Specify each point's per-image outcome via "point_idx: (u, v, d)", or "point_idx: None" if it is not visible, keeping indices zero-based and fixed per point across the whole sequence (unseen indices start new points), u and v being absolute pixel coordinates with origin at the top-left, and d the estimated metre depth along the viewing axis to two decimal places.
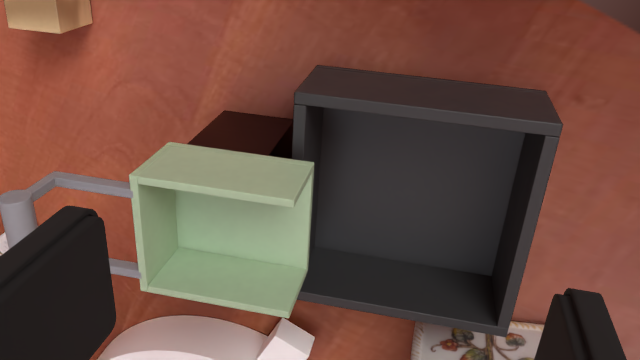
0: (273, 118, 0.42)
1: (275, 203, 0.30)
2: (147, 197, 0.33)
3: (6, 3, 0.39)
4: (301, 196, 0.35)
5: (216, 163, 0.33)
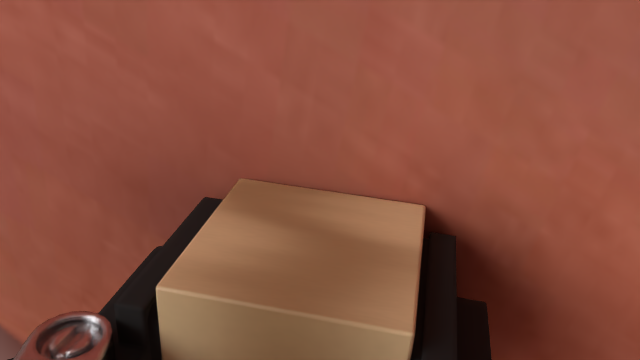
0: None
1: None
2: None
3: None
4: None
5: None
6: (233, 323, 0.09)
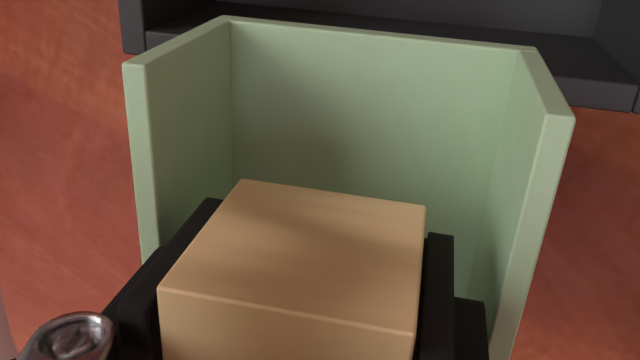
0: None
1: (142, 117, 0.11)
2: None
3: None
4: (294, 50, 0.14)
5: None
6: (234, 324, 0.09)
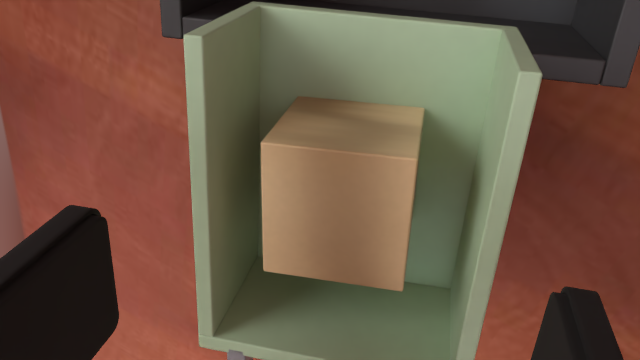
0: None
1: (198, 78, 0.13)
2: (265, 325, 0.18)
3: (342, 277, 0.16)
4: (314, 31, 0.17)
5: None
6: (308, 163, 0.14)
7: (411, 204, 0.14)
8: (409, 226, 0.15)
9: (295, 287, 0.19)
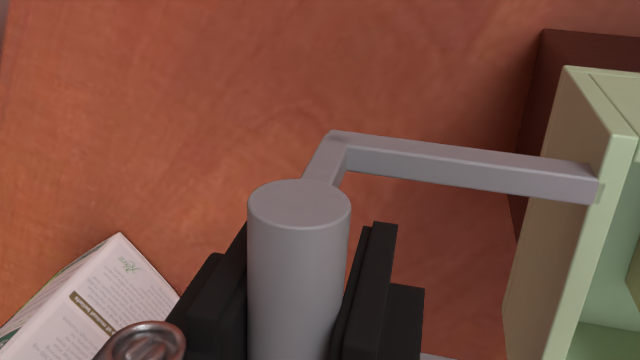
0: None
1: None
2: None
3: None
4: None
5: None
6: None
7: None
8: None
9: None
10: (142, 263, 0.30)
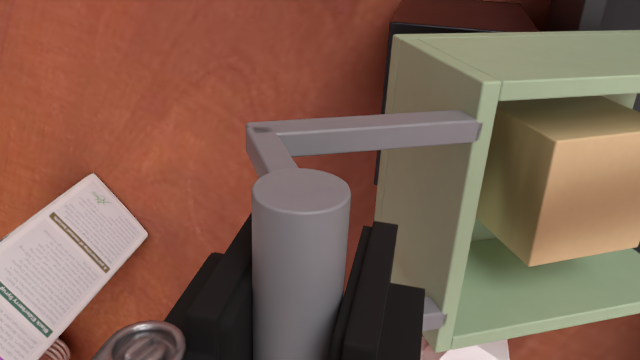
0: (487, 2, 0.27)
1: None
2: None
3: (545, 216, 0.16)
4: (624, 95, 0.20)
5: (550, 47, 0.16)
6: None
7: (605, 252, 0.17)
8: (587, 255, 0.17)
9: None
10: (112, 198, 0.37)
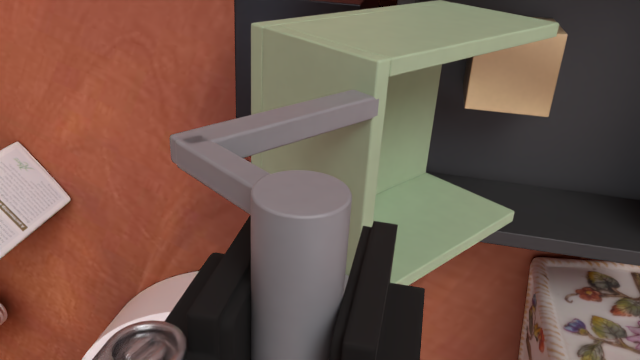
0: None
1: (544, 36, 0.19)
2: None
3: None
4: None
5: (393, 22, 0.18)
6: None
7: None
8: None
9: None
10: (35, 165, 0.40)
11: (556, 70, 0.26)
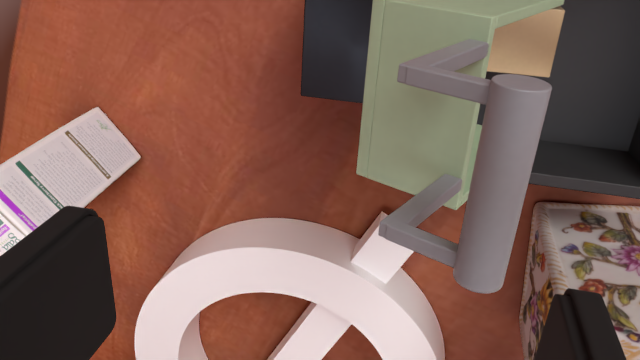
0: None
1: (558, 4, 0.27)
2: None
3: None
4: None
5: None
6: None
7: None
8: None
9: None
10: (112, 127, 0.47)
11: (556, 39, 0.33)
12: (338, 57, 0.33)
